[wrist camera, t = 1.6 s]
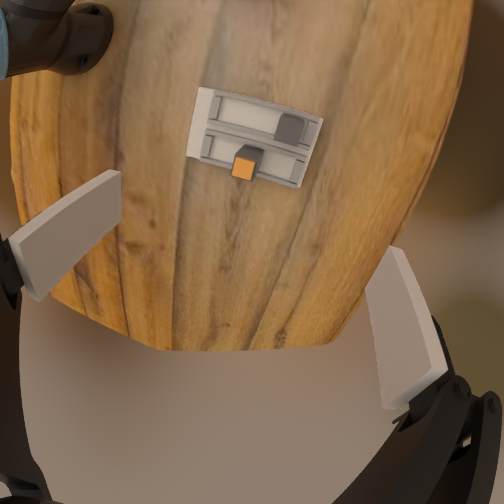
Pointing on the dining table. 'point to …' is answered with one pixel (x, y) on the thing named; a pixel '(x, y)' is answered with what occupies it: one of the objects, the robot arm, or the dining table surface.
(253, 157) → the handle
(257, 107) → the panel
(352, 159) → the dining table surface
